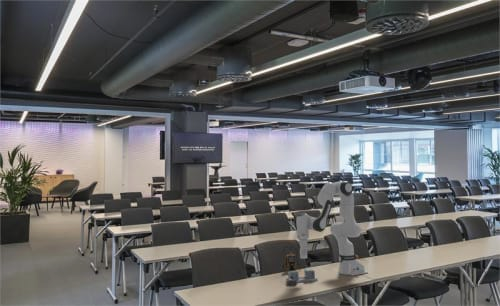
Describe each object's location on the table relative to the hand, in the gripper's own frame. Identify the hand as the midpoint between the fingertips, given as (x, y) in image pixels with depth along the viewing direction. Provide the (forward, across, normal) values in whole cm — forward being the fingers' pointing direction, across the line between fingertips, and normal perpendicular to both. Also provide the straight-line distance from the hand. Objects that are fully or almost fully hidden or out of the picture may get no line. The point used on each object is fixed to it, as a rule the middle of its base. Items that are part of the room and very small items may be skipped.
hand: (303, 254), depth 288 cm
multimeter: (+20, -27, -7) cm, 34 cm away
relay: (+20, +8, -10) cm, 23 cm away
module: (+3, 0, 0) cm, 3 cm away
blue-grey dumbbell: (+20, -2, -2) cm, 20 cm away
